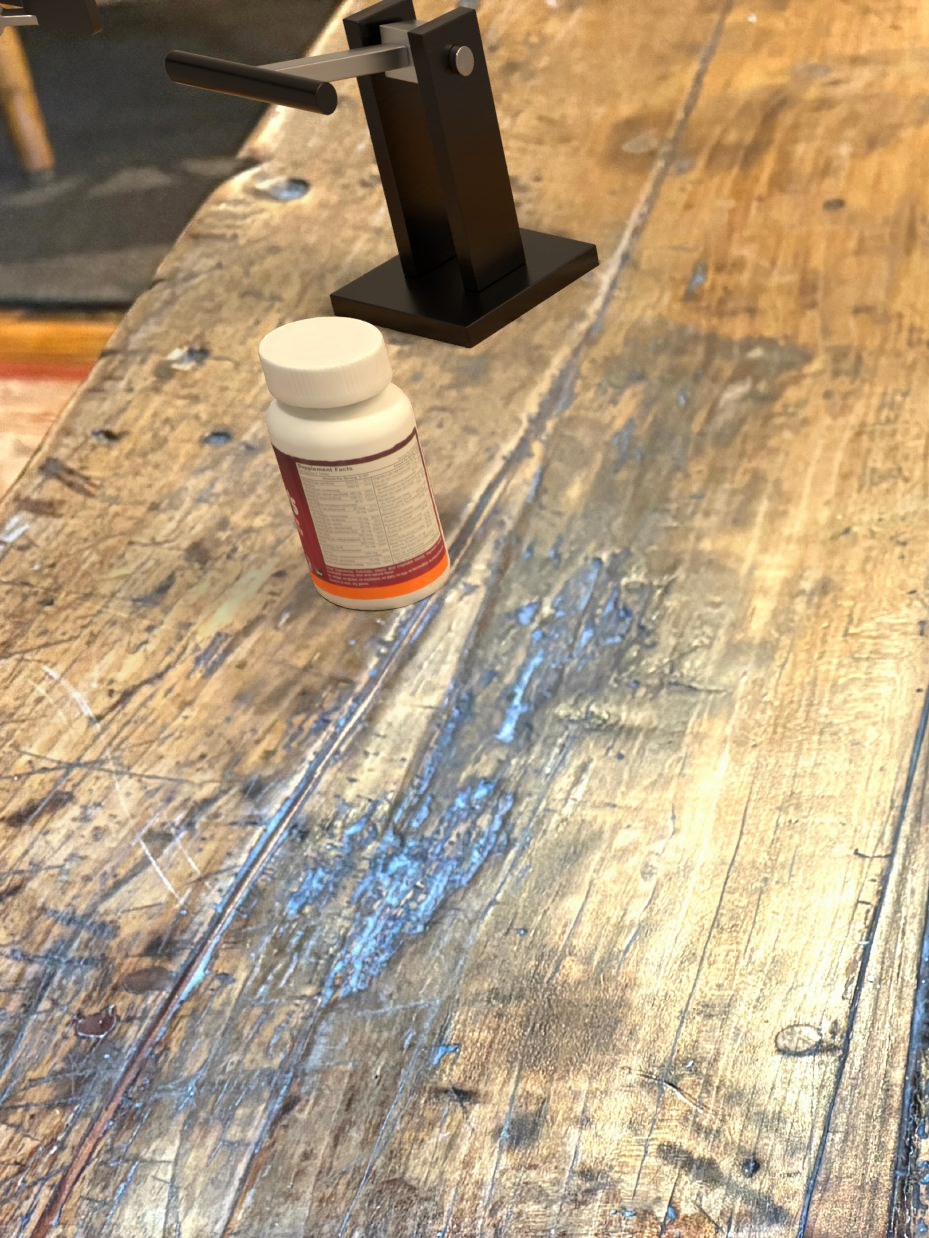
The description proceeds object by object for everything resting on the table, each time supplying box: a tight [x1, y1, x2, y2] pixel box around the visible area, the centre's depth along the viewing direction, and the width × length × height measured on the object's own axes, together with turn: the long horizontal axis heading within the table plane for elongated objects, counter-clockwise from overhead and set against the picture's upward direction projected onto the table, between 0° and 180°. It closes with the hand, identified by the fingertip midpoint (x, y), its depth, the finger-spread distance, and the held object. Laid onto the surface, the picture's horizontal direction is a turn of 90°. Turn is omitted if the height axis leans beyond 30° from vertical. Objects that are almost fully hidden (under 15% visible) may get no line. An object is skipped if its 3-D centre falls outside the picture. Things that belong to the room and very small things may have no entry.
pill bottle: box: [257, 316, 451, 611], centre depth 98 cm, size 6×6×11 cm
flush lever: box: [164, 18, 428, 116], centre depth 110 cm, size 14×9×2 cm, turn 157°
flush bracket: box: [329, 0, 600, 349], centre depth 118 cm, size 12×9×14 cm
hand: (30, 37), depth 109 cm, fingers open, 8 cm apart
